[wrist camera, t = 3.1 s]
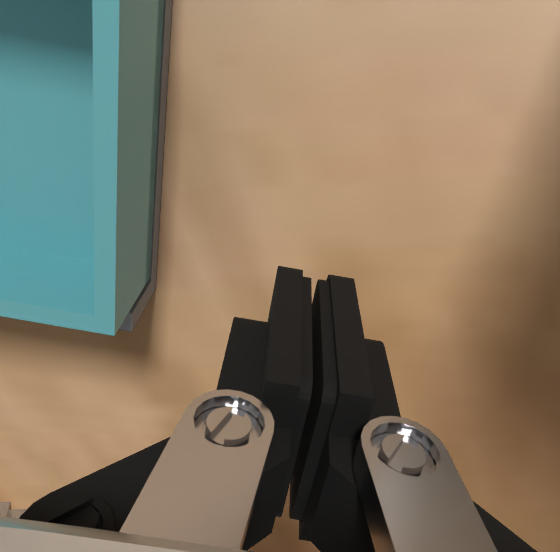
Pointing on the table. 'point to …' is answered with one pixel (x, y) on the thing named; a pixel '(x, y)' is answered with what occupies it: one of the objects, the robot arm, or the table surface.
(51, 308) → the teal square tray
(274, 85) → the table surface
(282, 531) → the table surface
